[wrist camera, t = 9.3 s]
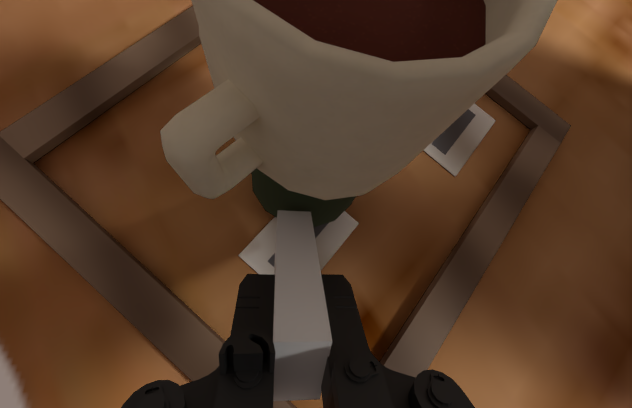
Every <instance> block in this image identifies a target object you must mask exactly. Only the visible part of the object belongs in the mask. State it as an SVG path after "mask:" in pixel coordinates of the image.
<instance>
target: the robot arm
mask: <svg viewBox="0 0 632 408" xmlns="http://www.w3.org/2000/svg"><path fill="white" fill-rule="evenodd" d="M218 355H219V366H218V368H217V369H216V370H214V371H213V372H212V373H210V374H209V375H207V376H205V377H203V378H201V379H198V380H195V381H192V382H190V383H187V384H184V385H181V386H179V385H178V384H176V383H174V382H172V381H170V380H157V381H154V382H151V383H149V384H146V385H144V386H143V387H141V388H140V389H138V390H137V391H135V392H134V393H133V394H132V395H131V396H130V397H129V399H128V400H127V401H126V402H125V403H124V404H123V406H122V407H121V408H273V401H289V400H310V399H320V395H321V391H322V400H323V408H475V407H474V406H473V404H472V403H471V402H470V400H469V399H468V397H467V396H466V395H465V393H464V392H463V391H462V389H461V388H460V387H459V386H458V385H457V384H456V383H455V382H454V380H453V379H451V378H450V377H448V376H447V375H445V374H444V373H442V372H439V371H435V370H424V371H422V372H421V373H419V374H418V375H417V377H412V376H409V375H406V374H403V373H399V372H396V371H393V370H391V369H389V368H387V367H385V366H384V365H382V364H381V363H380V362H379V361H378V360H377V359H376V358H375V357H374V356H373V354H372V353H371V352H370V349H369V347H368V344H367V340H366V337H365V333H364V330H363V326H362V323H361V319H360V316H359V312H358V309H357V305H356V301H355V299H354V294H353V291H352V287H351V284H350V283H349V282H348V281H347V279H346V278H345V277H344V276H343V275H325V274H321V270H320V264H319V258H318V252H317V246H316V240H315V234H314V228H313V222H312V216H311V212H305V211H284V210H278V211H277V228H276V246H275V266H274V275H272V274H247V275H246V277H245V278H244V279H243V281H242V282H241V283H240V286H239V291H238V297H237V302H236V309H235V313H234V319H233V325H232V330H231V336H230V337H229V338H228V339H227V340H226V341H225V342H224V343H223V345H222V347H221V349H220V352H219V354H218Z"/></svg>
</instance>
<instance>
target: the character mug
mask: <svg viewBox="0 0 632 408" xmlns="http://www.w3.org/2000/svg"><path fill="white" fill-rule="evenodd" d="M556 2H557V0H192V4H193V7H194V11H195V14H196V18H197V21H198V25H199V37H200V40H201V43H202V47H203V50H204V53H205V57H206V61H207V64H208V68H209V71H210V75H211V78H212V81H213V85H214V88H215V89H213V90H212V91H210V92H209V93H207V94H206V95H204V96H203V97H201V98H200V99H198V100H197V101H195V102H194V103H192V104H191V105H189V106H188V107H186V108H185V109H183V110H182V111H180V112H179V113H177V114H176V115H175V116H174V117H173V118H172V119H171V120H170V121H169V122H168V123H167V124H166V125H165V126H164V127H163V128H162V129H161V130H160V133H161V141H162V147H163V150H164V154H165V158H166V161H167V162H168V163H169V164H170V165H171V167H172V168H173V169H174V170H175V171H176V173H177V174H178V175H179V176H180V177H181V179H182V180H183V181H184V182H185V183H186V184H187V186H188V187H189V188H190V189H191V190H192V192H193V193H195V194H198V195H200V196H203V197H205V198H210V199H215V198H217V197H219V196H220V195H222V194H224V193H225V192H227V191H229V190H230V189H232V188H233V187H234V186H236V185H237V184H238V183H239V182H240V181H242V180H243V179H244V178H245V177H247V176H248V175H249V174H250V173H251V172H252V186H253V192H254V193H255V195H256V196H257V198H258V200H259V201H260V203H261V204H262V206H263V207H264V209H265V210H266V211H267V212H269V213H270V214H272V215H274V216H275V217H277V211H278V210H284V211H305V212H311V216H312V222H313V227H316V226H319V225H323V224H326V223H329V222H332V221H335V220H336V219H337V218H338V217H339V216H340V215H341V214H342V213H343V212H344V211H345V210H346V209H347V208H348V207H349V206H350V205H351V204H352V202H353V200H354V198H355V197H356V196H361V195H364V194H366V193H368V192H370V191H371V190H373V189H374V188H376V187H377V186H379V185H381V184H382V183H384V182H385V181H387V180H388V179H390V178H391V177H393V176H394V175H396V174H398V173H399V172H400V171H401V170H402V169H403V168H404V167H405V166H407V165H408V164H409V163H410V162H411V161H412V160H413V159H414V158H415V157H416V156H417V155H419V154H420V153H421V152H422V151H423V150H424V149H425V148H426V147H427V146H428V145H430V144H431V143H432V142H433V141H434V140H435V139H436V138H437V137H438V136H439V135H440V134H442V133H443V132H444V131H445V130H446V129H447V128H448V127H449V126H450V125H451V124H452V123H454V122H455V121H456V120H457V119H458V118H459V117H460V116H461V115H462V114H463V113H464V112H466V111H467V110H468V109H469V108H470V107H471V106H472V105H473V104H474V103H475V102H477V101H478V100H479V99H480V98H481V97H482V96H483V95H484V94H485V93H486V92H487V91H489V90H490V89H491V88H492V87H493V86H494V85H495V84H496V83H497V82H498V81H499V80H501V79H502V78H503V77H504V76H505V75H506V74H507V73H508V72H509V71H510V70H511V69H512V68H513V67H514V66H515V65H516V64H517V63H518V62H519V61H520V60H521V59H522V58H523V57H524V56H525V55H526V54H527V53H528V52H529V51H530V50H531V49H532V48H533V47H534V46H535V45H536V43H537V41H538V39H539V37H540V35H541V33H542V31H543V29H544V27H545V25H546V23H547V21H548V19H549V17H550V14H551V12H552V10H553V8H554V6H555V4H556ZM233 137H234V139H235V140H236V141H235V142H233V143H232V144H231V145H230V146H228V147H227V148H226V149H224V150H223V151H222V152H220V153H219V154H218V155H215V153H216V151H217V150H218V149H219V148H220V147H221V146H222V145H223V144H225V143H226V142H227V141H229V140H230V139H231V138H233Z"/></svg>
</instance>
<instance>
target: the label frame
mask: <svg viewBox="0 0 632 408" xmlns="http://www.w3.org/2000/svg"><path fill="white" fill-rule="evenodd" d="M199 44H201V40H200V37H199V25H198V21H197V18H196V14H195V11H194V7H193V6H192V7H190V8H189V9H187V10H186V11H184V12H183V13H181V14H180V15H178V16H177V17H175V18H173V19H172V20H170V21H169V22H167V23H166V24H164V25H163V26H161V27H160V28H158V29H157V30H155V31H154V32H152V33H151V34H149V35H147V36H146V37H144V38H143V39H141V40H140V41H138V42H137V43H135V44H134V45H132V46H131V47H129V48H128V49H126V50H124V51H123V52H121V53H120V54H118V55H117V56H115V57H114V58H112V59H111V60H109V61H108V62H106V63H105V64H103V65H102V66H100V67H98V68H97V69H95V70H94V71H92V72H91V73H89V74H88V75H86V76H85V77H83V78H82V79H80V80H79V81H77V82H76V83H74V84H72V85H71V86H69V87H68V88H66V89H65V90H63V91H62V92H60V93H59V94H57V95H56V96H54V97H53V98H51V99H50V100H48V101H46V102H45V103H43V104H42V105H40V106H39V107H37V108H36V109H34V110H33V111H31V112H30V113H28V114H27V115H25V116H24V117H22V118H20V119H19V120H17V121H16V122H14V123H13V124H11V125H10V126H8V127H7V128H5V129H4V130H2V131H1V132H0V199H1V200H2V201H3V202H4V203H5V204H6V205H7V206H8V207H9V208H10V209H11V210H12V211H14V212H15V213H16V214H17V215H18V216H19V217H20V218H21V219H22V220H23V221H24V222H25V223H26V224H27V225H28V226H29V227H30V228H31V229H32V230H34V231H35V232H36V233H37V234H38V235H39V236H40V237H41V238H42V239H43V240H44V241H45V242H46V243H47V244H48V245H49V246H50V247H51V248H53V249H54V250H55V251H56V252H57V253H58V254H59V255H60V256H61V257H62V258H63V259H64V260H65V261H66V262H67V263H68V264H69V265H70V266H71V267H73V268H74V269H75V270H76V271H77V272H78V273H79V274H80V275H81V276H82V277H83V278H84V279H85V280H86V281H87V282H88V283H89V284H90V285H91V286H93V287H94V288H95V289H96V290H97V291H98V292H99V293H100V294H101V295H102V296H103V297H104V298H105V299H106V300H107V301H108V302H109V303H110V304H112V305H113V306H114V307H115V308H116V309H117V310H118V311H119V312H120V313H121V314H122V315H123V316H124V317H125V318H126V319H127V320H128V321H129V322H130V323H132V324H133V325H134V326H135V327H136V328H137V329H138V330H139V331H140V332H141V333H142V334H143V335H144V336H145V337H146V338H147V339H148V340H149V341H151V342H152V343H153V344H154V345H155V346H156V347H157V348H158V349H159V350H160V351H161V352H162V353H163V354H164V355H165V356H166V357H167V358H168V359H169V360H171V361H172V362H173V363H174V364H175V365H176V366H177V367H178V368H179V369H180V370H181V371H182V372H183V373H184V374H185V375H186V376H187V377H188V378H189V379H191V380H192V381H195V380H198V379H201V378H203V377H205V376H207V375H209V374H210V373H212V372H213V371H214V370H216V369H217V368H218V366H219V355H218V354H219V352H220V349H221V347H222V345H223V343H224V342H225V341H224V340H223V339H222V338H221V337H220V336H219V335H218V334H217V333H216V332H215V331H213V330H212V329H211V328H210V327H209V326H208V325H207V324H206V323H205V322H204V321H203V320H202V319H201V318H199V317H198V316H197V315H196V314H195V313H194V312H193V311H192V310H191V309H190V308H189V307H188V306H187V305H185V304H184V303H183V302H182V301H181V300H180V299H179V298H178V297H177V296H176V295H175V294H174V293H173V292H171V291H170V290H169V289H168V288H167V287H166V286H165V285H164V284H163V283H162V282H161V281H160V280H159V279H157V278H156V277H155V276H154V275H153V274H152V273H151V272H150V271H149V270H148V269H147V268H146V267H145V266H143V265H142V264H141V263H140V262H139V261H138V260H137V259H136V258H135V257H134V256H133V255H132V254H130V253H129V252H128V251H127V250H126V249H125V248H124V247H123V246H122V245H121V244H120V243H119V242H118V241H116V240H115V239H114V238H113V237H112V236H111V235H110V234H109V233H108V232H107V231H106V230H105V229H104V228H102V227H101V226H100V225H99V224H98V223H97V222H96V221H95V220H94V219H93V218H92V217H91V216H90V215H88V214H87V213H86V212H85V211H84V210H83V209H82V208H81V207H80V206H79V205H78V204H77V203H76V202H74V201H73V200H72V199H71V198H70V197H69V196H68V195H67V194H66V193H65V192H64V191H63V190H62V189H60V188H59V187H58V186H57V185H56V184H55V183H54V182H53V181H52V180H51V179H50V178H49V177H48V176H46V175H45V174H44V173H43V172H42V171H41V170H40V169H39V168H38V167H37V166H36V165H35V164H34V162H35V161H37V160H38V159H39V158H41V157H42V156H44V155H45V154H46V153H48V152H49V151H51V150H52V149H53V148H55V147H56V146H58V145H59V144H60V143H62V142H63V141H65V140H66V139H67V138H69V137H70V136H72V135H73V134H74V133H76V132H77V131H79V130H80V129H81V128H83V127H84V126H86V125H87V124H88V123H90V122H91V121H93V120H94V119H96V118H97V117H98V116H100V115H101V114H103V113H104V112H105V111H107V110H108V109H110V108H111V107H112V106H114V105H115V104H117V103H118V102H119V101H121V100H122V99H124V98H125V97H126V96H128V95H129V94H131V93H132V92H133V91H135V90H136V89H138V88H139V87H140V86H142V85H143V84H145V83H146V82H147V81H149V80H150V79H152V78H153V77H154V76H156V75H157V74H159V73H160V72H161V71H163V70H164V69H166V68H167V67H168V66H170V65H171V64H173V63H174V62H175V61H177V60H178V59H180V58H181V57H182V56H184V55H185V54H187V53H188V52H189V51H191V50H192V49H194V48H195V47H197V46H198V45H199ZM486 94H487V95H488V96H489V97H491V98H492V99H493V100H494V101H496V102H497V103H498V104H499V105H501V106H502V107H503V108H504V109H506V110H507V111H508V112H509V113H511V114H512V115H513V116H515V117H516V118H517V119H518V120H520V121H521V122H522V123H523V124H525V125H526V126H527V127H528V128H530V129H531V131H530V132H529V134H528V135H527V137H526V138H525V140H524V142H523V143H522V145H521V146H520V148H519V149H518V151H517V152H516V154H515V155H514V157H513V158H512V160H511V161H510V163H509V165H508V166H507V168H506V169H505V171H504V172H503V174H502V175H501V177H500V178H499V180H498V181H497V183H496V184H495V186H494V188H493V189H492V191H491V192H490V194H489V195H488V197H487V198H486V200H485V201H484V203H483V204H482V206H481V207H480V209H479V211H478V212H477V214H476V215H475V217H474V218H473V220H472V221H471V223H470V224H469V226H468V227H467V229H466V230H465V232H464V234H463V235H462V237H461V238H460V240H459V241H458V243H457V244H456V246H455V247H454V249H453V250H452V252H451V253H450V255H449V256H448V258H447V260H446V261H445V263H444V264H443V266H442V267H441V269H440V270H439V272H438V273H437V275H436V276H435V278H434V279H433V281H432V283H431V284H430V286H429V287H428V289H427V290H426V292H425V293H424V295H423V296H422V298H421V299H420V301H419V302H418V304H417V306H416V307H415V309H414V310H413V312H412V313H411V315H410V316H409V318H408V319H407V321H406V322H405V324H404V325H403V327H402V329H401V330H400V332H399V333H398V335H397V336H396V338H395V339H394V341H393V342H392V344H391V345H390V347H389V348H388V350H387V352H386V353H385V355H384V356H383V358H382V359H381V361H380V363H381V364H382V365H384V366H385V367H387V368H389V369H391V370H393V371H396V372H399V373H403V374H406V375H409V376H412V377H417V375H418V374H419V373H421V372H422V371H424V370H427V369H428V367H429V366H430V364H431V362H432V361H433V359H434V357H435V355H436V354H437V352H438V350H439V349H440V347H441V345H442V344H443V342H444V340H445V339H446V337H447V335H448V333H449V332H450V330H451V328H452V327H453V325H454V323H455V322H456V320H457V318H458V316H459V315H460V313H461V311H462V310H463V308H464V306H465V305H466V303H467V301H468V300H469V298H470V296H471V294H472V293H473V291H474V289H475V288H476V286H477V284H478V283H479V281H480V279H481V278H482V276H483V274H484V272H485V271H486V269H487V267H488V266H489V264H490V262H491V261H492V259H493V257H494V255H495V254H496V252H497V250H498V249H499V247H500V245H501V244H502V242H503V240H504V239H505V237H506V235H507V233H508V232H509V230H510V228H511V227H512V225H513V223H514V222H515V220H516V218H517V217H518V215H519V213H520V211H521V210H522V208H523V206H524V205H525V203H526V201H527V200H528V198H529V196H530V194H531V193H532V191H533V189H534V188H535V186H536V184H537V183H538V181H539V179H540V178H541V176H542V174H543V172H544V171H545V169H546V167H547V166H548V164H549V162H550V161H551V159H552V157H553V156H554V154H555V152H556V150H557V149H558V147H559V145H560V144H561V142H562V140H563V139H564V137H565V135H566V133H567V132H568V130H569V128H570V127H571V125H570V124H568V123H567V122H566V121H564V120H563V119H562V118H561V117H559V116H558V115H557V114H555V113H554V112H553V111H552V110H550V109H549V108H548V107H547V106H545V105H544V104H543V103H541V102H540V101H539V100H538V99H536V98H535V97H534V96H533V95H531V94H530V93H529V92H527V91H526V90H525V89H524V88H522V87H521V86H520V85H519V84H517V83H516V82H515V81H513V80H512V79H511V78H510V77H508V76H507V75H505V76H504V77H503V78H502V79H501V80H499V81H498V82H497V83H496V84H495V85H494V86H493V87H492V88H491V89H490V90H489V91H487V92H486ZM495 121H496V120H495V119H493V118H492V117H491V116H490V115H488V114H487V113H486V112H485V111H483V110H482V109H481V108H480V107H478V106H477V105H476V104H475V103H474V104H473V105H472V106H471V107H470V108H469V109H468V110H467V111H466V112H464V113H463V114H462V115H461V116H460V117H459V118H458V119H457V120H456V121H455V122H454V123H452V124H451V125H450V126H449V127H448V128H447V129H446V130H445V131H444V132H443V133H442V134H440V135H439V136H438V137H437V138H436V139H435V140H434V141H433V142H432V143H431V144H430V145H428V146H427V147H426V148H425V149H424V150H423V151H425V152H426V153H427V154H428V155H429V156H431V157H432V158H433V159H434V160H435V161H437V162H438V163H439V164H440V165H442V166H443V167H444V168H445V169H446V170H448V171H449V172H450V173H451V174H452V175H454V176H456V175H457V174H458V172H459V171H460V170H461V168H462V167H463V165H464V164H465V163H466V161H467V160H468V159H469V157H470V156H471V154H472V153H473V152H474V150H475V149H476V147H477V146H478V145H479V143H480V142H481V141H482V139H483V138H484V136H485V135H486V134H487V132H488V131H489V129H490V128H491V127H492V125H493V124H494V123H495ZM358 224H359V223H358V222H357V221H356V220H355V219H353V218H352V217H351V216H350V215H349V214H348V213H346V212H345V211H344V212H343V213H342V214H341V215H340V216H339V217H338V218H337V219H336V220H335V221H332V222H329V223H326V224H323V225H319V226H316V227H313V228H314V234H315V240H316V246H317V252H318V258H319V264H320V270H322V269H323V267H324V266H325V265H326V264H327V262H328V261H329V260H330V259H331V257H332V256H333V255H334V254H335V253H336V251H337V250H338V249H339V248H340V246H341V245H342V244H343V243H344V241H345V240H346V239H347V238H348V237H349V235H350V234H351V233H352V232H353V230H354V229H355V228H356V227H357V225H358ZM276 228H277V217H274V218H273V219H272V220H271V221H270V222H269V223H268V224H267V225H266V226H265V228H264V229H263V230H262V231H261V232H260V233H259V234H258V235H257V236H256V237H255V238H254V239H253V240H252V241H251V242H250V243H249V244H248V246H247V247H246V248H245V249H244V250H243V251H242V252H241V253H240V254H239V255H238V256H239V257H240V258H242V259H243V260H244V261H245V262H246V263H247V264H248V265H249V266H250V267H252V268H253V269H254V270H255V271H256V272H257V273H258V274H272V275H274V266H275V246H276ZM273 408H296V407H295V406H294V405H293V404H292V403H291V402H290V401H273Z"/></svg>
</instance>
